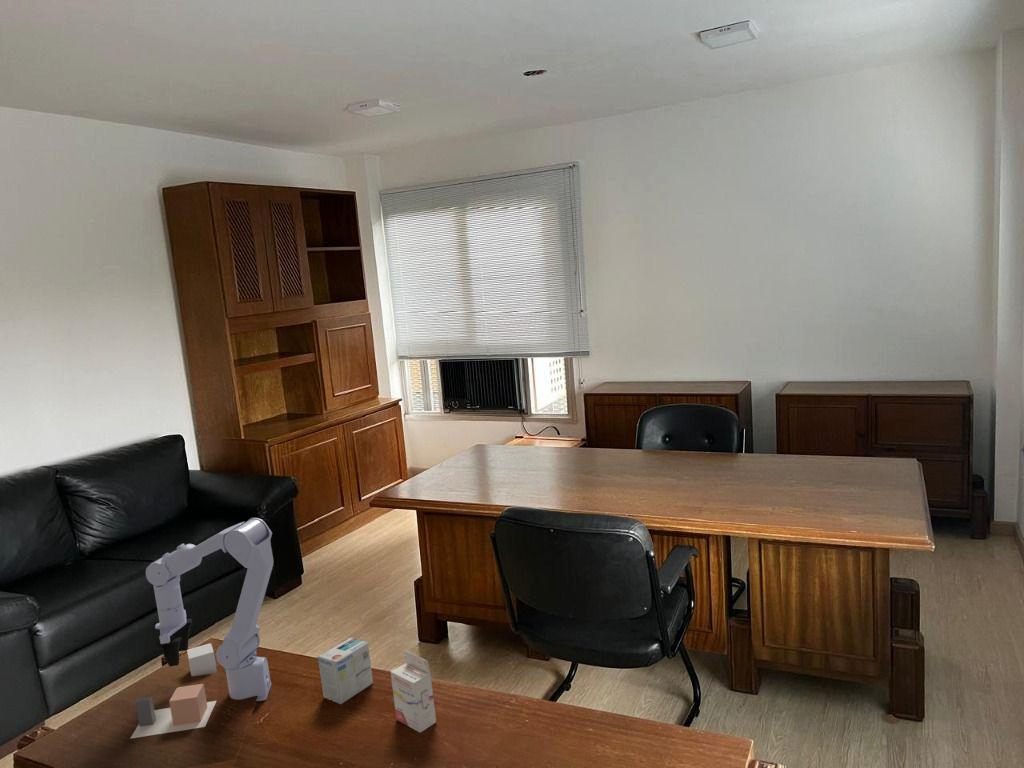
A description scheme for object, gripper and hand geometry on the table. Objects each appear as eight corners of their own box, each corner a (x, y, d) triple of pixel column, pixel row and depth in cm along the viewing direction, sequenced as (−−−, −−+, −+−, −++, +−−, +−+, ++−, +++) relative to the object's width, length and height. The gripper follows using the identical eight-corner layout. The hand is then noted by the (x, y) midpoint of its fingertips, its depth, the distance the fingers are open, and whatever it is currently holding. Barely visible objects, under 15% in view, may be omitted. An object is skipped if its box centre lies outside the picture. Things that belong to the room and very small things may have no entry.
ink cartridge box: (394, 720, 171) (387, 658, 169) (412, 710, 175) (404, 649, 173) (420, 733, 166) (412, 669, 163) (437, 722, 169) (430, 659, 167)
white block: (190, 671, 204) (186, 649, 203) (214, 664, 206) (210, 642, 205) (192, 680, 198) (188, 658, 197) (217, 673, 201) (213, 651, 200)
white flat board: (217, 704, 185) (212, 677, 184) (205, 730, 174) (200, 701, 173) (147, 715, 183) (142, 687, 182) (130, 742, 172) (125, 713, 171)
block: (207, 707, 182) (203, 683, 181) (200, 721, 176) (196, 697, 175) (181, 711, 181) (177, 687, 181) (173, 725, 176) (169, 701, 175)
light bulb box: (355, 676, 192) (350, 636, 191) (374, 683, 188) (369, 641, 187) (322, 698, 184) (316, 655, 182) (341, 705, 180) (335, 661, 178)
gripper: (162, 595, 196) (170, 646, 197) (142, 620, 181) (152, 674, 183) (191, 591, 196) (199, 642, 198) (174, 616, 182) (183, 670, 184)
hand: (178, 657), depth 191 cm, fingers open, 7 cm apart
